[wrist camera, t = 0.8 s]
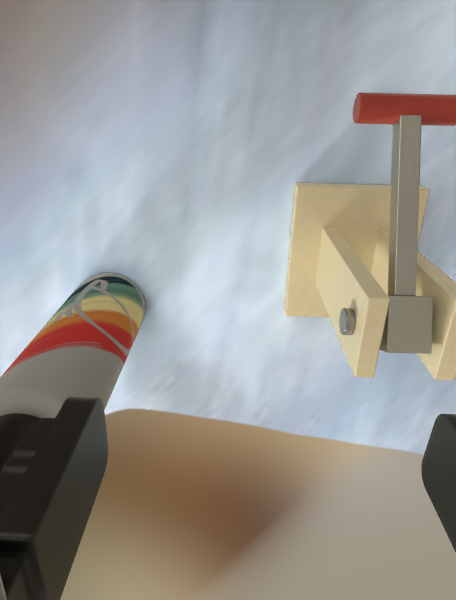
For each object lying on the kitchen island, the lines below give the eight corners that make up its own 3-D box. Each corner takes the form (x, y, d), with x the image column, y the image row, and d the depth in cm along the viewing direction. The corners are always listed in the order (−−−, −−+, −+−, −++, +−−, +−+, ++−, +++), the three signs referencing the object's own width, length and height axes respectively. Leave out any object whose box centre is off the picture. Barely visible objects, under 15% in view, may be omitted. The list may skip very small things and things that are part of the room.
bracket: (294, 182, 30) (332, 237, 18) (422, 185, 30) (544, 242, 18) (283, 308, 35) (308, 420, 23) (395, 311, 34) (479, 425, 22)
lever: (350, 104, 23) (364, 82, 21) (446, 107, 23) (471, 85, 21) (343, 346, 23) (355, 351, 21) (438, 349, 23) (462, 355, 21)
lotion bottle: (137, 266, 33) (17, 466, 15) (153, 329, 36) (65, 567, 18) (67, 275, 34) (-130, 479, 16) (87, 337, 36) (-65, 576, 18)
